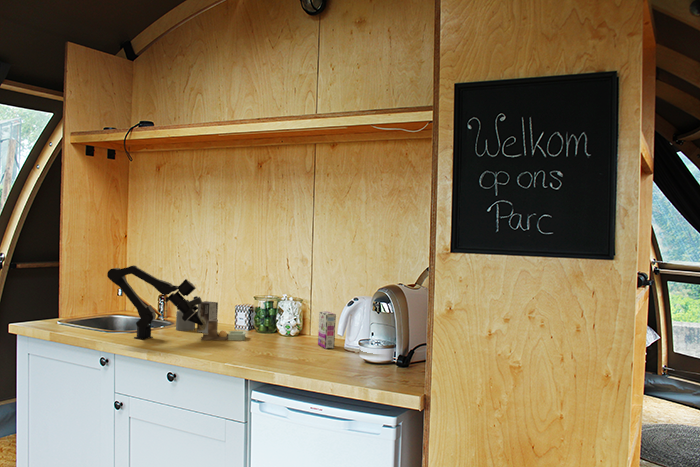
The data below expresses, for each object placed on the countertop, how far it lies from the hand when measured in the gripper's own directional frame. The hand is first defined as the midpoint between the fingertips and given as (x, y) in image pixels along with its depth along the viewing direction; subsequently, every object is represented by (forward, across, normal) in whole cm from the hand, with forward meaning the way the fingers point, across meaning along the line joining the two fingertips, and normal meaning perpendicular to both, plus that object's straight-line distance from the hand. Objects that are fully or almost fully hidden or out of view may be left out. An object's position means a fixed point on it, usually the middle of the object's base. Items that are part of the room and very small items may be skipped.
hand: (202, 325), depth 263 cm
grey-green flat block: (+17, 0, -7) cm, 18 cm away
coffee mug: (-3, +28, +12) cm, 31 cm away
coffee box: (+5, +18, +5) cm, 20 cm away
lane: (+10, 0, 0) cm, 10 cm away
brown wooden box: (+8, 0, +1) cm, 8 cm away
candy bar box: (+48, -21, -37) cm, 64 cm away
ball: (+10, 0, -4) cm, 11 cm away
